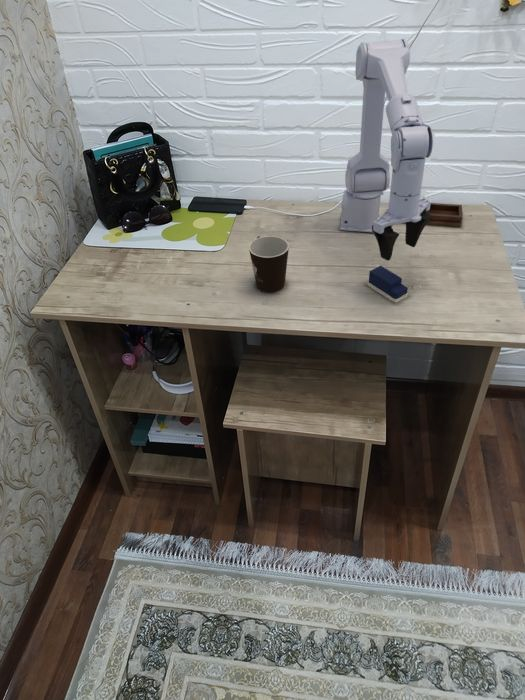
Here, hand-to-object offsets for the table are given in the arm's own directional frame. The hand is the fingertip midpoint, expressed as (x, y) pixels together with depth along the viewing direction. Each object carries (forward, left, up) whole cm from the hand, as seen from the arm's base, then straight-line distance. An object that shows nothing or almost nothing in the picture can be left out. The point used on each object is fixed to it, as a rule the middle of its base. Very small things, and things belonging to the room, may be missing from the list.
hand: (398, 251), depth 118 cm
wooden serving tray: (+7, +33, -10) cm, 35 cm away
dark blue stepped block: (-1, 0, -10) cm, 10 cm away
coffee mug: (-27, -1, -10) cm, 29 cm away
